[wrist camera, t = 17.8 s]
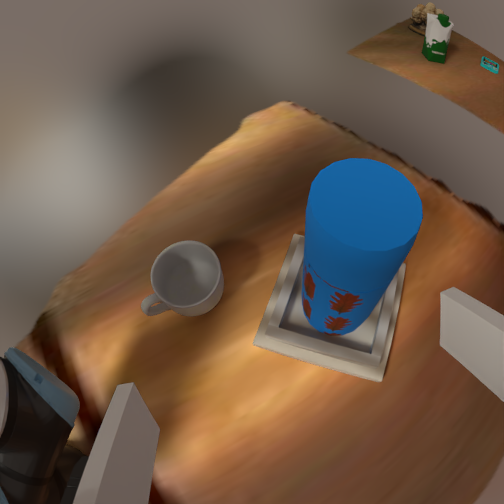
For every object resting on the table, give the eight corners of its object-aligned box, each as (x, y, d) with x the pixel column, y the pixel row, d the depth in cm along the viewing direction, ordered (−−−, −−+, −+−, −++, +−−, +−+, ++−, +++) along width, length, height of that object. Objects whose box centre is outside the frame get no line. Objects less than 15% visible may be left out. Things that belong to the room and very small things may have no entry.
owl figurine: (446, 37, 101) (452, 7, 87) (443, 44, 97) (449, 11, 83) (411, 24, 108) (414, -6, 93) (405, 29, 104) (409, -3, 89)
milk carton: (427, 61, 87) (435, 15, 70) (418, 51, 92) (425, 7, 75) (447, 65, 86) (457, 20, 69) (438, 54, 91) (446, 12, 74)
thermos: (364, 342, 45) (427, 263, 23) (294, 330, 47) (297, 242, 25) (372, 277, 50) (419, 167, 28) (307, 266, 52) (315, 149, 30)
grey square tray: (379, 382, 43) (385, 379, 40) (253, 345, 48) (251, 339, 45) (403, 267, 51) (409, 258, 48) (294, 238, 57) (294, 226, 54)
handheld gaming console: (480, 64, 87) (482, 55, 92) (480, 66, 88) (482, 57, 93) (498, 73, 84) (499, 63, 89) (497, 75, 85) (498, 65, 90)
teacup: (212, 253, 57) (201, 228, 50) (241, 304, 52) (233, 283, 45) (143, 290, 55) (124, 269, 48) (165, 343, 50) (145, 329, 43)
